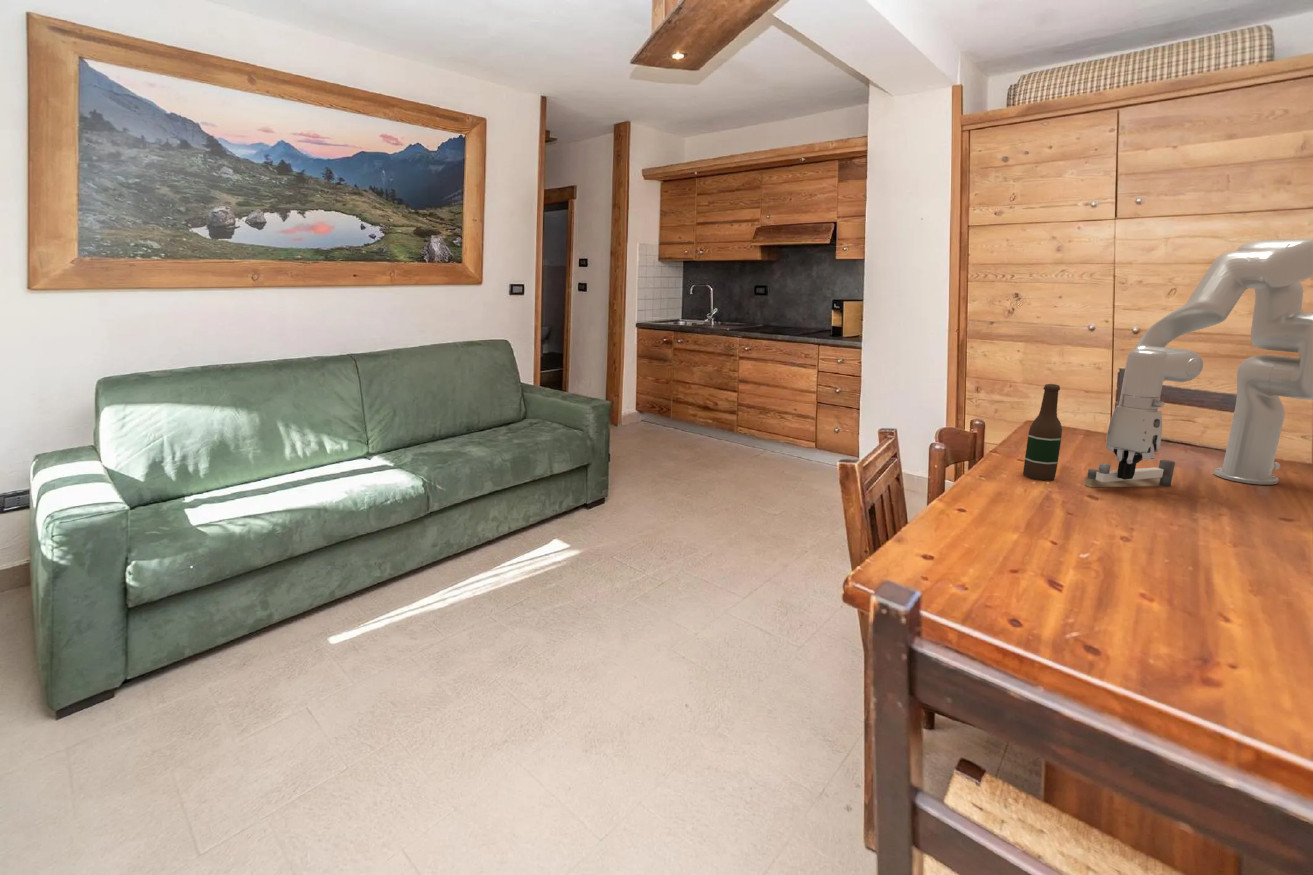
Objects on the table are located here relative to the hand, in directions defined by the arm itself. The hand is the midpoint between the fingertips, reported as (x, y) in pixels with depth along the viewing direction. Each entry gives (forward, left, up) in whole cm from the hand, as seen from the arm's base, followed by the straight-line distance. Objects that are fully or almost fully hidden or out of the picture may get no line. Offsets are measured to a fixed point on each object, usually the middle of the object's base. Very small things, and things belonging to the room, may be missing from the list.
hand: (1124, 478), depth 161 cm
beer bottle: (+8, -16, -4) cm, 18 cm away
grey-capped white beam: (-7, -3, -3) cm, 8 cm away
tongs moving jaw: (-5, -2, -1) cm, 5 cm away
